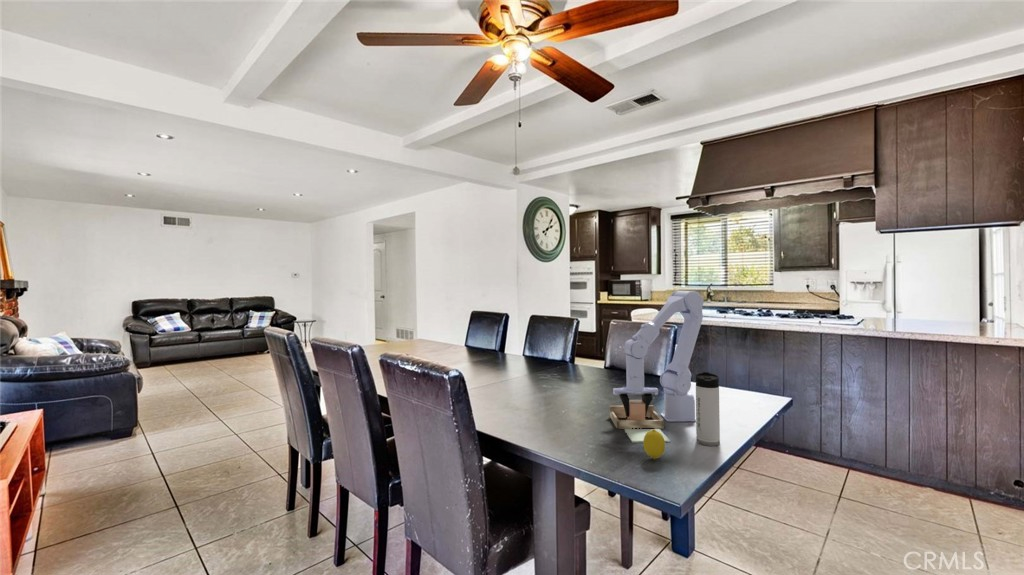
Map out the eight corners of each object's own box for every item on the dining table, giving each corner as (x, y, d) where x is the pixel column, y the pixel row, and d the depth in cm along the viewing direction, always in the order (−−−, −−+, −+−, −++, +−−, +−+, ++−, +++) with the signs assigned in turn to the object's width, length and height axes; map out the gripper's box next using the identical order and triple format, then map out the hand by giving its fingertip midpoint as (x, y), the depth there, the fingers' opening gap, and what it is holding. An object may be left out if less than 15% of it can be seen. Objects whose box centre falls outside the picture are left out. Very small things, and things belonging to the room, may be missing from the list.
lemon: (640, 455, 119) (639, 426, 119) (660, 454, 120) (659, 425, 119) (648, 464, 114) (648, 433, 113) (668, 463, 114) (668, 432, 114)
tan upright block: (641, 420, 149) (641, 399, 149) (645, 425, 144) (645, 403, 144) (626, 420, 149) (626, 399, 149) (630, 425, 144) (629, 403, 144)
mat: (659, 430, 138) (659, 429, 138) (670, 442, 128) (670, 440, 128) (624, 430, 139) (624, 429, 139) (632, 442, 129) (632, 440, 129)
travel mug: (718, 439, 130) (717, 372, 130) (721, 447, 124) (720, 377, 123) (695, 437, 132) (694, 371, 132) (697, 445, 126) (696, 376, 125)
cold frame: (653, 416, 152) (653, 405, 152) (664, 428, 140) (663, 416, 140) (610, 417, 153) (609, 405, 153) (617, 428, 141) (616, 416, 141)
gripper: (615, 378, 142) (616, 419, 143) (660, 378, 142) (661, 419, 142) (611, 373, 149) (612, 413, 150) (654, 373, 149) (655, 412, 149)
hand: (635, 416), depth 146 cm, fingers closed on tan upright block, 5 cm apart
